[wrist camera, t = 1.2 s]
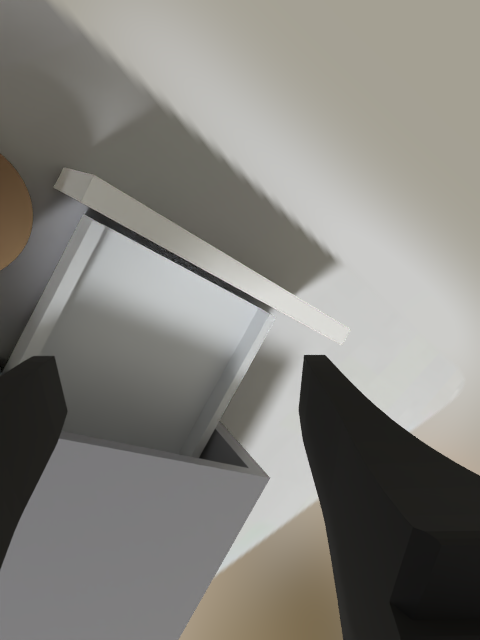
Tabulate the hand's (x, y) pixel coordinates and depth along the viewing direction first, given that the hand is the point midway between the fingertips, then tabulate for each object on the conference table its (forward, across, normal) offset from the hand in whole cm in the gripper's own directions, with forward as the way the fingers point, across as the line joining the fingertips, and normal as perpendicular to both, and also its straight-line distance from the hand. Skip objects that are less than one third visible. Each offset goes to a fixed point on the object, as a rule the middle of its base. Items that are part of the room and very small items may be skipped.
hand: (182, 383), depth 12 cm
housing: (+7, +8, +13) cm, 17 cm away
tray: (+10, +4, +5) cm, 12 cm away
